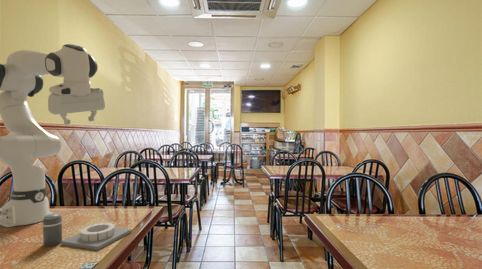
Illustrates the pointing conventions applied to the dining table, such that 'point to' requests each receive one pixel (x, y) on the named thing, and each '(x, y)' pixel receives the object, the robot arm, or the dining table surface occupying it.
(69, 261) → the dining table surface
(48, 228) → the lens
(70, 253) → the dining table surface
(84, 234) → the mount
